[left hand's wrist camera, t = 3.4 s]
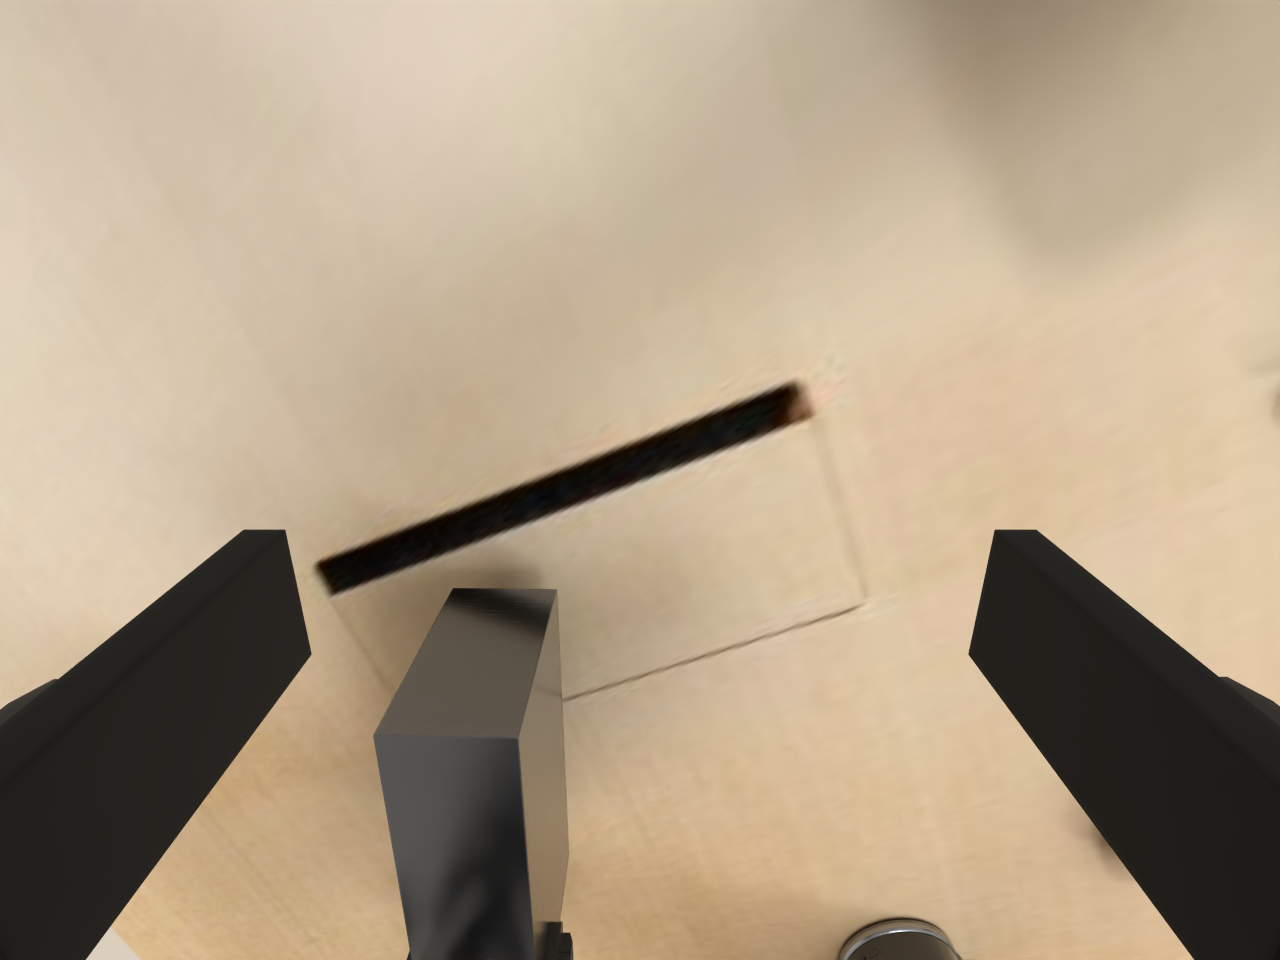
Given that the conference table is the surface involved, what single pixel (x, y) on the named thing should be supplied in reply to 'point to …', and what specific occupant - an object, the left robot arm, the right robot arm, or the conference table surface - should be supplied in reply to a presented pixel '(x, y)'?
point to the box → (479, 779)
